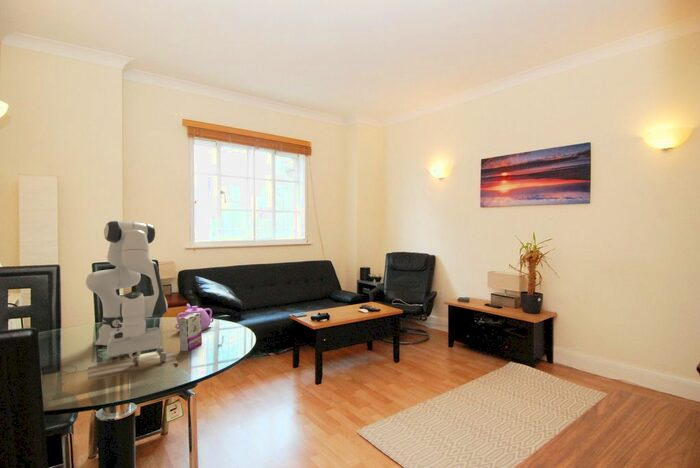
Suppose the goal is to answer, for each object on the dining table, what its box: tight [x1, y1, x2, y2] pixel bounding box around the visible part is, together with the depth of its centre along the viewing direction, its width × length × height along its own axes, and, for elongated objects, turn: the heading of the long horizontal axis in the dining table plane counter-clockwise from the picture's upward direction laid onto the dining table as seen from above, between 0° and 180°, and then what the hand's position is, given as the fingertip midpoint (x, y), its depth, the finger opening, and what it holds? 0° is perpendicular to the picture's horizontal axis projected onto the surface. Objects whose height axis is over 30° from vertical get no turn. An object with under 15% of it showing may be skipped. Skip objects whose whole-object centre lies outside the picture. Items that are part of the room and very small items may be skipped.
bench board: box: [87, 346, 179, 383], centre depth 156 cm, size 18×32×6 cm, turn 125°
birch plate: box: [138, 351, 161, 368], centre depth 160 cm, size 10×8×2 cm
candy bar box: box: [178, 313, 203, 352], centre depth 182 cm, size 11×5×16 cm, turn 168°
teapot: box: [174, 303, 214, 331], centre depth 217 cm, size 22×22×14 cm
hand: (135, 362), depth 157 cm, fingers closed
